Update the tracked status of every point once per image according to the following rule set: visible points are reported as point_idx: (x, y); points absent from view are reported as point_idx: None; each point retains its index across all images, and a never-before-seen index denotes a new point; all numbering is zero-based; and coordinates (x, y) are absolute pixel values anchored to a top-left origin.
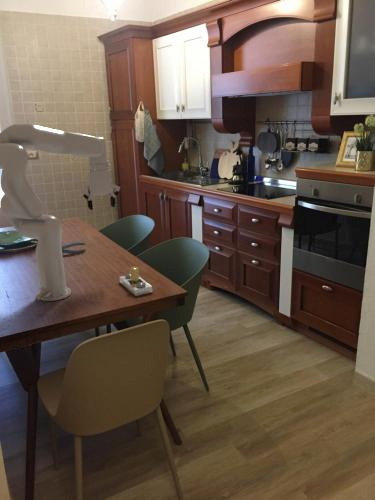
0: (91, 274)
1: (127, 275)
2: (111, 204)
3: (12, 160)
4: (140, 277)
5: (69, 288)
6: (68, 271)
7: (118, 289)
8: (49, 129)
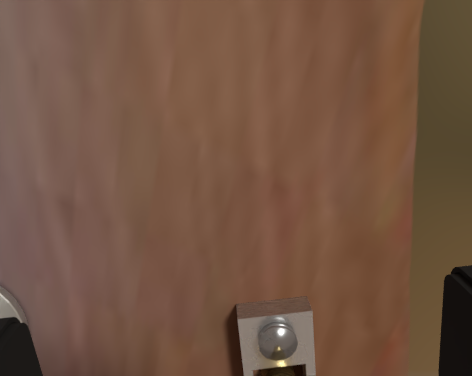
0: (134, 150)
1: (266, 350)
2: (464, 334)
3: None
4: (314, 360)
5: (19, 320)
6: (16, 40)
7: (212, 365)
8: None
